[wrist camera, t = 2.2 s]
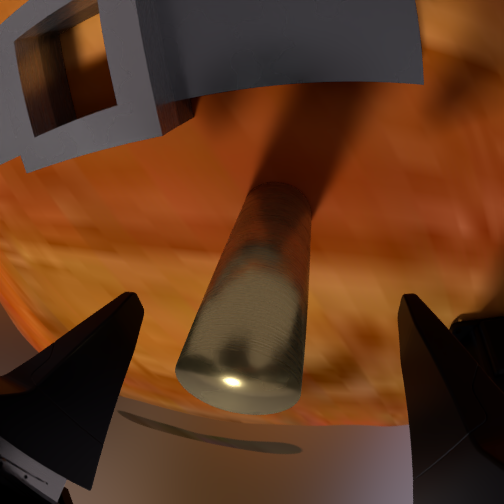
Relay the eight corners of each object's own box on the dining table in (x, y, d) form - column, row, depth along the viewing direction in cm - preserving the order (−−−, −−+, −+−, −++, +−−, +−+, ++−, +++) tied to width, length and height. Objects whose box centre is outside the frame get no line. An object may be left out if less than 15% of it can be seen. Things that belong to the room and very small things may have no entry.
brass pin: (312, 241, 15) (302, 417, 8) (248, 243, 16) (195, 407, 8) (309, 180, 13) (298, 353, 6) (238, 184, 14) (157, 343, 7)
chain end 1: (193, 117, 12) (162, 135, 10) (-7, 178, 16) (-36, 199, 14) (165, -42, 8) (127, -60, 5) (-32, 84, 12) (-64, 97, 9)
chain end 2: (411, 104, 10) (424, 110, 9) (65, 150, 14) (47, 160, 13) (386, -66, 6) (394, -79, 4) (37, 24, 10) (17, 26, 8)
